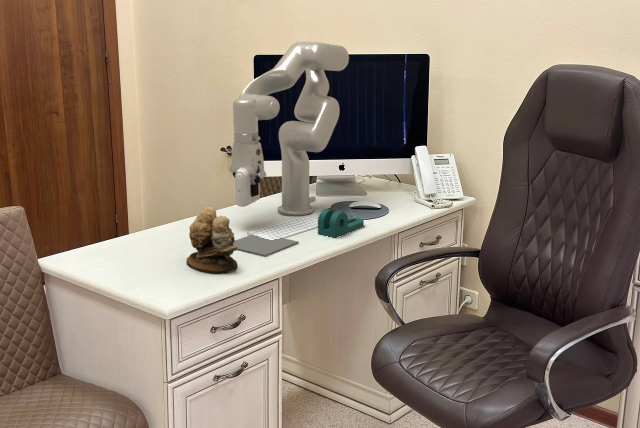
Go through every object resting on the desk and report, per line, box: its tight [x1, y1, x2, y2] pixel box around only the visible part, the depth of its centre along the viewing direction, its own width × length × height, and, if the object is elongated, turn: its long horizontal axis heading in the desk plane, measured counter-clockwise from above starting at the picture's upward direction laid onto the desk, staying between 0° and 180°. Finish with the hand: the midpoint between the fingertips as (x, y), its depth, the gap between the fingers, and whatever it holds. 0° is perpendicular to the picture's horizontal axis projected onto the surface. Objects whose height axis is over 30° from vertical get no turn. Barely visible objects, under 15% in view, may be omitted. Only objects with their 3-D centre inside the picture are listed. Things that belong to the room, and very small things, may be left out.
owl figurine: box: [186, 206, 239, 275], centre depth 201 cm, size 18×12×17 cm, turn 48°
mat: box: [233, 234, 300, 258], centre depth 221 cm, size 16×16×1 cm
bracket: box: [317, 208, 365, 239], centre depth 236 cm, size 18×7×8 cm, turn 143°
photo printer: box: [234, 167, 261, 208], centre depth 235 cm, size 10×4×12 cm, turn 155°
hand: (248, 193), depth 236 cm, fingers closed on photo printer, 4 cm apart
